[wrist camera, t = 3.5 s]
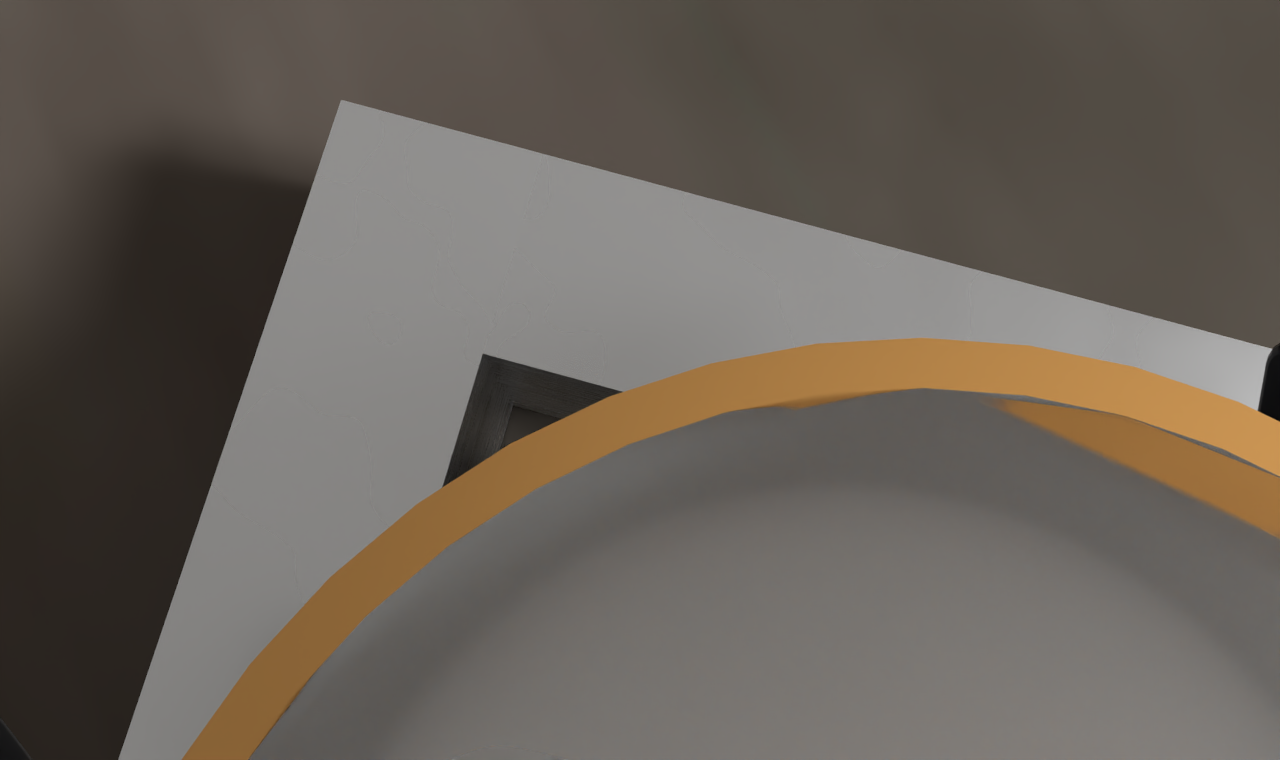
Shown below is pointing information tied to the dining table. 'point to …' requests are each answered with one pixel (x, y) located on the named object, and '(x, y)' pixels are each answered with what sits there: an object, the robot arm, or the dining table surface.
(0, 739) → the robot arm
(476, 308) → the block
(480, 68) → the dining table surface
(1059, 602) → the silver metal peg
